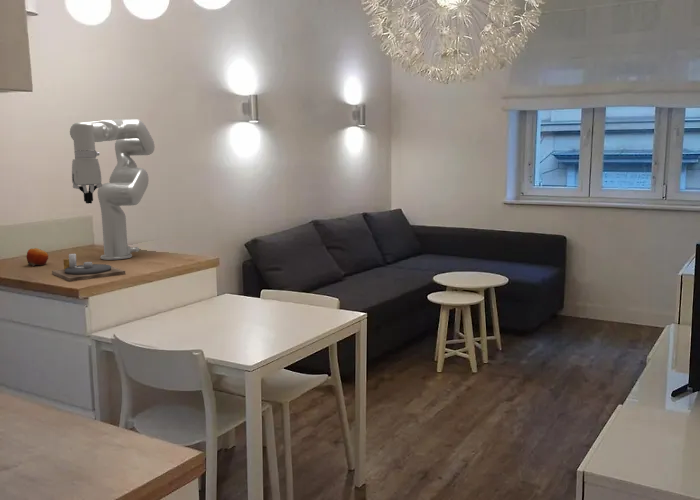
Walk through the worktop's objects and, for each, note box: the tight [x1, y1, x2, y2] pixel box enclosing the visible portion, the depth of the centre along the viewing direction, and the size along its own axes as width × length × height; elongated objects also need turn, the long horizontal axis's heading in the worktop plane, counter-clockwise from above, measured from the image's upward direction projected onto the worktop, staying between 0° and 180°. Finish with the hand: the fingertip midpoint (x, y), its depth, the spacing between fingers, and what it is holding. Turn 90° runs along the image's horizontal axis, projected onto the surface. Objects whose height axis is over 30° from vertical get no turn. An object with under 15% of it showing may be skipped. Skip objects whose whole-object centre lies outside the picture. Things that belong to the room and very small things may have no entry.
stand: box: [51, 258, 127, 282], centre depth 252 cm, size 20×20×5 cm
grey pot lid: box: [65, 253, 112, 275], centre depth 252 cm, size 16×16×6 cm
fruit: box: [26, 247, 49, 268], centre depth 273 cm, size 8×8×8 cm
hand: (88, 203), depth 264 cm, fingers closed
